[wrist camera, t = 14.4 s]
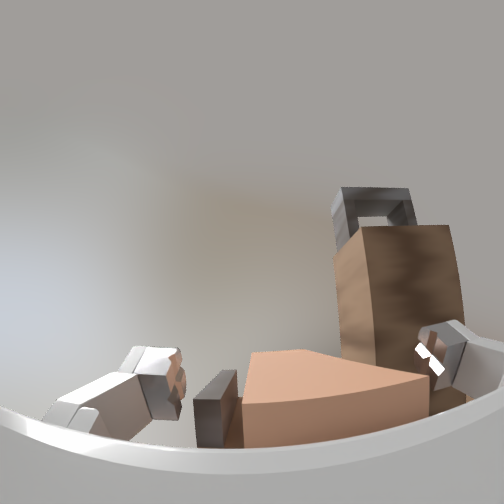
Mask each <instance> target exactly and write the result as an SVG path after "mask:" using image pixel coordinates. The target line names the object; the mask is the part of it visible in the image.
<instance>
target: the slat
mask: <svg viewBox="0 0 504 504" xmlns="http://www.w3.org/2000/svg"><path fill="white" fill-rule="evenodd" d="M242 417H243V433H244V449H246V448H268V447H282V446H293V445H302V444H310V443H318V442H325V441H331V440H338V439H343V438H349V437H354V436H359V435H364V434H369V433H373V432H377V431H381V430H386V429H390V428H393V427H397V426H401V425H404V424H408V423H411V422H415V421H418V420H421V419H424V418H427V417H429V376H427V375H421V374H415V373H410V372H404V371H398V370H393V369H388V368H383V367H378V366H373V365H368V364H363V363H359V362H354V361H350V360H345V359H341V358H336V357H332V356H328V355H324V354H320V353H316V352H312V351H308V350H304V349H300V350H286V351H273V352H255V353H252V355H251V360H250V365H249V370H248V375H247V381H246V385H245V390H244V395H243V400H242Z"/></svg>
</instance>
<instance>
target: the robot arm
mask: <svg viewBox="0 0 504 504" xmlns="http://www.w3.org/2000/svg"><path fill="white" fill-rule="evenodd" d="M418 340H419V342H420V344H419V345H418V346H417V347H416V349H415V353H414V365H415V367H416V369H417V371H418V372H419V373H420V374H422V375H427V376H429V386H430V387H431V389H432V390H433V391H436V390H439V389H443V388H446V387H449V386H452V387H453V388H455V389H457V390H459V391H461V392H463V393H465V394H466V395H468V396H470V397H472V398H474V399H475V400H472V401H470V402H468V403H465V404H463V405H460V406H458V407H455V408H453V409H450V410H447V411H445V412H442V413H439V414H436V415H433V416H430V417H427V418H424V419H421V420H418V421H415V422H411V423H408V424H404V425H401V426H397V427H393V428H390V429H386V430H381V431H377V432H373V433H369V434H364V435H359V436H354V437H349V438H343V439H338V440H331V441H325V442H318V443H310V444H302V445H293V446H282V447H268V448H246V449H209V448H186V447H173V446H163V445H154V444H146V443H139V442H132V441H129V440H130V439H132V438H133V437H134V436H135V435H136V434H137V433H139V432H140V431H141V430H142V429H143V428H144V427H146V425H148V424H149V423H150V422H151V421H152V419H155V420H172V421H178V420H179V416H180V412H181V408H182V405H181V401H180V400H182V399H183V398H184V397H185V393H186V376H185V371H184V370H183V369H182V368H181V367H180V365H181V362H182V356H181V351H180V349H179V348H171V347H148V346H134V347H133V348H132V349H131V351H130V352H129V354H128V356H127V357H126V359H125V360H124V362H123V363H122V365H121V367H120V368H119V370H118V372H112V373H110V374H108V375H106V376H104V377H102V378H100V379H98V380H96V381H94V382H92V383H90V384H88V385H86V386H84V387H82V388H80V389H77V390H75V391H73V392H71V393H69V394H67V395H65V396H63V397H61V398H59V399H57V400H56V401H55V402H54V403H53V405H52V406H51V407H50V409H49V410H48V412H47V413H46V414H45V416H44V417H43V418H42V420H39V419H35V418H32V417H29V416H27V415H24V414H21V413H19V412H16V411H13V410H11V409H8V408H5V407H3V406H1V405H0V504H504V343H503V342H499V341H495V340H492V339H488V338H484V337H480V338H479V337H478V336H477V335H475V334H474V333H473V332H472V331H470V330H469V329H468V328H467V327H465V326H464V325H463V324H461V323H460V322H459V321H457V320H450V321H446V322H443V323H439V324H434V325H430V326H426V327H422V328H421V329H420V331H419V335H418Z"/></svg>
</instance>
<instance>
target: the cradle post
mask: <svg viewBox="0 0 504 504" xmlns="http://www.w3.org/2000/svg"><path fill="white" fill-rule="evenodd" d="M242 400H243V397H238V388H237V370H222V371H221V372H220V373H219V374H218V375H217V376H216V377H215V378H214V379H213V380H212V381H211V382H210V383H209V384H208V385H207V386H206V387H205V388H204V389H203V390H202V391H201V392H200V393H199V394H198V395H197V396H196V397H195V398H194V399H193V406H194V418H195V430H196V439H197V448H209V449H244V433H243V417H242Z"/></svg>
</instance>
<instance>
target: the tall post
mask: <svg viewBox="0 0 504 504" xmlns="http://www.w3.org/2000/svg"><path fill="white" fill-rule="evenodd" d="M331 211H332V218H333V224H334V231H335V238H336V246H337V253H336V255H335V256H334V257H333V261H334V270H335V280H336V290H337V300H338V312H339V323H340V338H341V355H342V359H345V360H350V361H354V362H359V363H363V364H368V365H373V366H378V367H383V368H388V369H393V370H398V371H404V372H410V373H415V374H420V373H419V372H418V371H417V369H416V367H415V365H414V353H415V349H416V347H417V346H418V345H419V344H420V342H419V340H418V335H419V331H420V329H421V328H422V327H426V326H430V325H434V324H439V323H443V322H446V321H450V320H457V321H459V322H460V323H461V324H463V325H464V326H465V322H464V311H463V302H462V294H461V286H460V280H459V273H458V267H457V262H456V257H455V251H454V246H453V242H452V237H451V233H450V229H449V225H419V226H418V225H417V221H416V217H415V212H414V208H413V204H412V201H411V196H410V193H409V189H408V188H373V187H367V188H366V187H341V188H340V190H339V192H338V194H337V196H336V197H335V199H334V201H333V203H332V205H331ZM369 216H370V217H371V216H387V221H388V226H373V227H372V226H371V227H361V228H359V224H358V218H357V217H369ZM421 375H422V374H421ZM465 403H466V394H465V393H463V392H461V391H459V390H457V389H455V388H453V387H452V386H449V387H446V388H443V389H439V390H436V391H433V390H432V389H431V387H430V386H429V417H430V416H433V415H436V414H439V413H442V412H445V411H447V410H450V409H453V408H455V407H458V406H460V405H463V404H465Z"/></svg>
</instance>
